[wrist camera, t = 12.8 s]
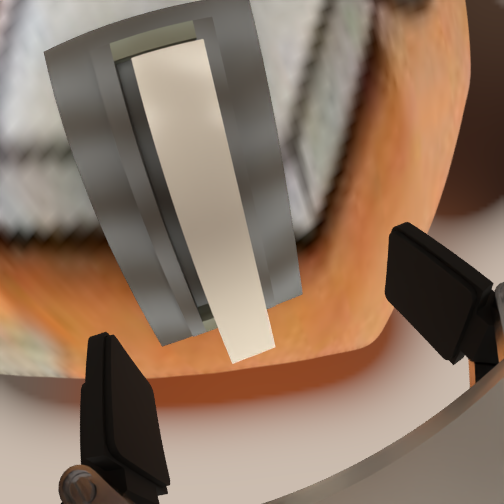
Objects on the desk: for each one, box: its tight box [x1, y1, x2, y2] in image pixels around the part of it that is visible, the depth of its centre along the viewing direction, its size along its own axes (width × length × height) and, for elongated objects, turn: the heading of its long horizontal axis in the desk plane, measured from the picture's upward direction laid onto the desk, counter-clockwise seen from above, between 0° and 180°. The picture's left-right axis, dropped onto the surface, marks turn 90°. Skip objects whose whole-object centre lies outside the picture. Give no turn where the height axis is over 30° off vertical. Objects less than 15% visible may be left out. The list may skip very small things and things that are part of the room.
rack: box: [44, 0, 302, 346], centre depth 21 cm, size 26×14×3 cm, turn 12°
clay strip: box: [131, 39, 275, 364], centre depth 18 cm, size 18×3×8 cm, turn 12°
